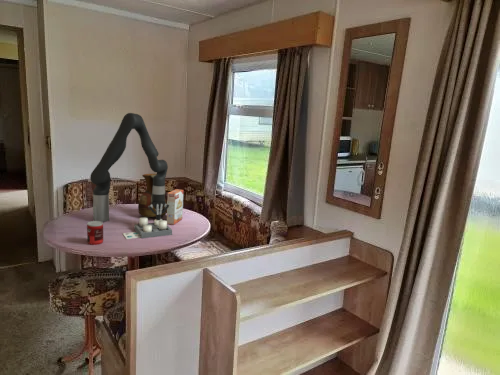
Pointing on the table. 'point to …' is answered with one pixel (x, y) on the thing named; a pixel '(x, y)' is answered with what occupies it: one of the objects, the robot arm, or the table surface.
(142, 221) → the button
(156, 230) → the board
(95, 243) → the canned food
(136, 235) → the card
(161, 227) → the button
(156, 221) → the button
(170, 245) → the table surface
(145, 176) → the ceramic pitcher
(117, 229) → the table surface
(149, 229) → the button
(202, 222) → the table surface
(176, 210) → the cracker box
